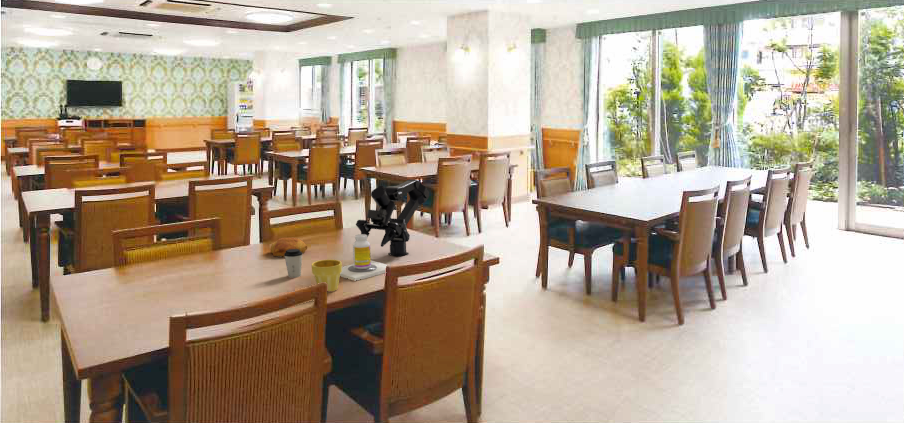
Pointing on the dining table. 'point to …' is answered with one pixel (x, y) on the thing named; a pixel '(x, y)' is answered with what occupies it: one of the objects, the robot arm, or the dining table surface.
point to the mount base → (362, 271)
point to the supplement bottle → (361, 252)
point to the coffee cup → (293, 262)
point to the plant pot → (327, 272)
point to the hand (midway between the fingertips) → (371, 245)
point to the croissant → (287, 246)
